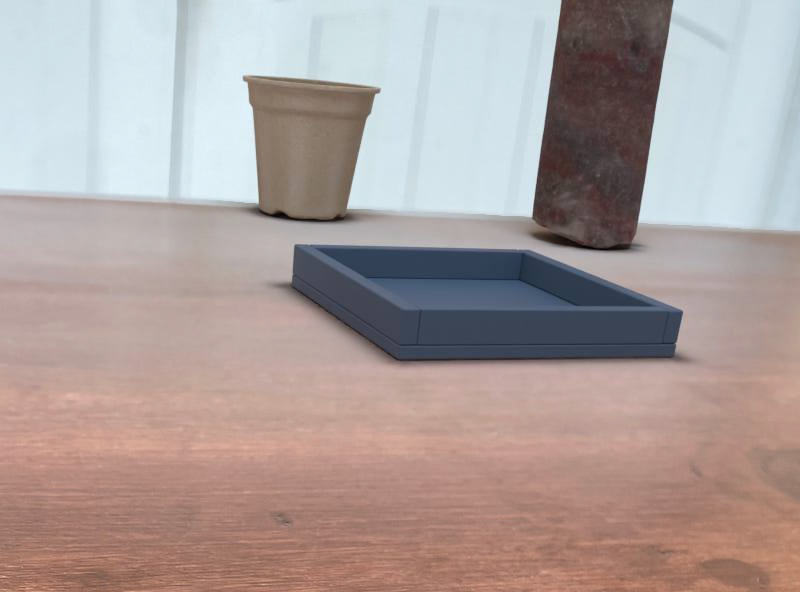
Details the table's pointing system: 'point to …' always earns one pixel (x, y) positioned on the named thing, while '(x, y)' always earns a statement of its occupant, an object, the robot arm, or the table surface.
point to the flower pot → (307, 143)
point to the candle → (600, 118)
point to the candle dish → (481, 304)
